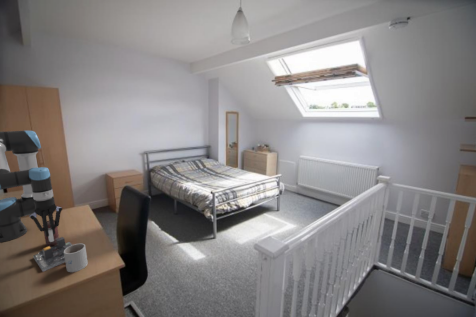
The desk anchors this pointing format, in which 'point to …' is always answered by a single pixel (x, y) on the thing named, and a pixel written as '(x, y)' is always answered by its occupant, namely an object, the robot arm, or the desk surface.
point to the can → (53, 236)
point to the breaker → (60, 242)
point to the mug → (75, 257)
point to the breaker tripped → (47, 252)
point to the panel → (51, 262)
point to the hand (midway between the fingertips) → (51, 240)
